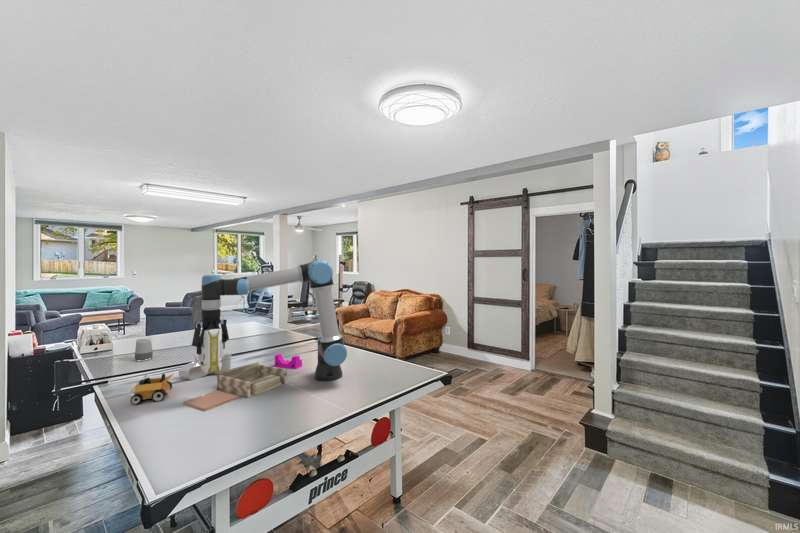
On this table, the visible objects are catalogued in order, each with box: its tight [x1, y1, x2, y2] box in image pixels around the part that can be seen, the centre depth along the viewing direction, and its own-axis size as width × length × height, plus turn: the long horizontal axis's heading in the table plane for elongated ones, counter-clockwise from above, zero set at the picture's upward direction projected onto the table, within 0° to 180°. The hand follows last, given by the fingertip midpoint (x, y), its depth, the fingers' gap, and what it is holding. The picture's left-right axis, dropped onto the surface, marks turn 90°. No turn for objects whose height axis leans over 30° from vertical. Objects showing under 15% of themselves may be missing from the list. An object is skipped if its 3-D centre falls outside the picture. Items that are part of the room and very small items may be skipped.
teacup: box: [212, 353, 232, 375], centre depth 194 cm, size 12×15×10 cm
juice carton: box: [200, 328, 222, 374], centre depth 156 cm, size 8×9×19 cm
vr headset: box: [178, 356, 211, 381], centre depth 187 cm, size 14×9×11 cm, turn 150°
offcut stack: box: [250, 375, 282, 396], centre depth 171 cm, size 7×16×5 cm, turn 152°
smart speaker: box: [134, 338, 153, 361], centre depth 224 cm, size 10×9×14 cm
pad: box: [182, 389, 240, 412], centre depth 156 cm, size 16×16×1 cm
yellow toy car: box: [129, 373, 174, 405], centre depth 161 cm, size 15×15×11 cm
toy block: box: [274, 353, 303, 370], centre depth 208 cm, size 15×6×8 cm, turn 72°
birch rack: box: [216, 361, 288, 399], centre depth 175 cm, size 23×23×8 cm
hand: (211, 358), depth 156 cm, fingers closed on juice carton, 9 cm apart
